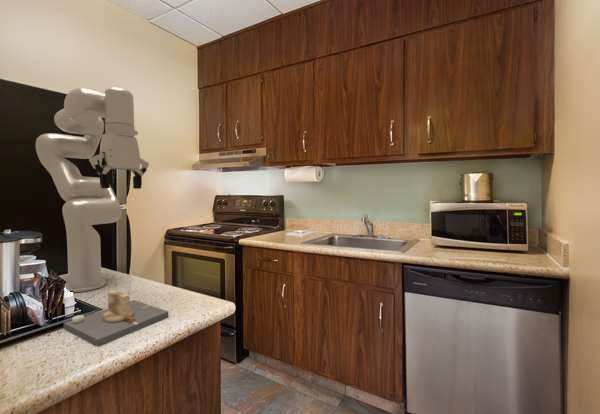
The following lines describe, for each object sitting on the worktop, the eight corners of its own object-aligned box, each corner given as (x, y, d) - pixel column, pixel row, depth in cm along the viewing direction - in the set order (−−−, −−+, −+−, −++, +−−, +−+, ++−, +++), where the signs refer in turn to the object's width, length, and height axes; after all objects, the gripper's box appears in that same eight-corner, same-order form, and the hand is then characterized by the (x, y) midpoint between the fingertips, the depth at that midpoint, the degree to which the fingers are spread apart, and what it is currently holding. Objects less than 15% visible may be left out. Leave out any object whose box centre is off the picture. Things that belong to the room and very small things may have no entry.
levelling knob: (97, 318, 77) (96, 295, 76) (124, 309, 83) (123, 287, 82) (119, 327, 72) (118, 302, 71) (146, 317, 78) (145, 294, 77)
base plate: (63, 328, 74) (63, 318, 74) (134, 304, 90) (134, 296, 90) (98, 346, 66) (98, 334, 66) (168, 316, 82) (168, 307, 82)
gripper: (139, 137, 99) (141, 188, 100) (81, 127, 84) (83, 188, 85) (154, 135, 95) (155, 188, 96) (95, 124, 80) (98, 188, 81)
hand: (122, 188), depth 90 cm, fingers open, 9 cm apart
